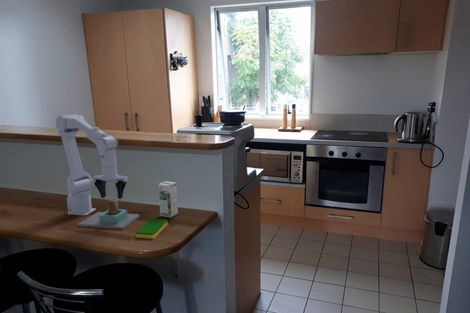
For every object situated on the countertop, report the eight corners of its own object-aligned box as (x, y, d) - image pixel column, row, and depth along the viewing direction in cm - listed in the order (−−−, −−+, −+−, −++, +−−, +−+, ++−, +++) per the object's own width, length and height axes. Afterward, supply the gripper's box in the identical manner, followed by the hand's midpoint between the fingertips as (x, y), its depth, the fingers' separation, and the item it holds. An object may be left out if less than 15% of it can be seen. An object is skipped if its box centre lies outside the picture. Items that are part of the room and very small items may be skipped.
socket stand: (78, 226, 140) (77, 217, 139) (98, 214, 153) (97, 205, 153) (123, 229, 136) (122, 219, 135) (139, 216, 149) (138, 207, 149)
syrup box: (159, 216, 150) (157, 183, 147) (168, 211, 155) (166, 180, 152) (170, 218, 147) (168, 185, 144) (178, 213, 152) (176, 181, 149)
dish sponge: (136, 238, 129) (135, 232, 128) (151, 224, 142) (151, 218, 141) (153, 239, 127) (153, 233, 127) (167, 225, 141) (167, 219, 140)
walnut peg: (107, 220, 143) (105, 202, 141) (112, 217, 146) (110, 199, 145) (116, 221, 142) (114, 202, 140) (120, 217, 146) (119, 199, 144)
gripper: (87, 167, 137) (90, 200, 140) (120, 168, 134) (123, 201, 137) (97, 163, 144) (100, 194, 147) (129, 164, 141) (131, 196, 144)
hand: (112, 197), depth 142 cm, fingers open, 7 cm apart
